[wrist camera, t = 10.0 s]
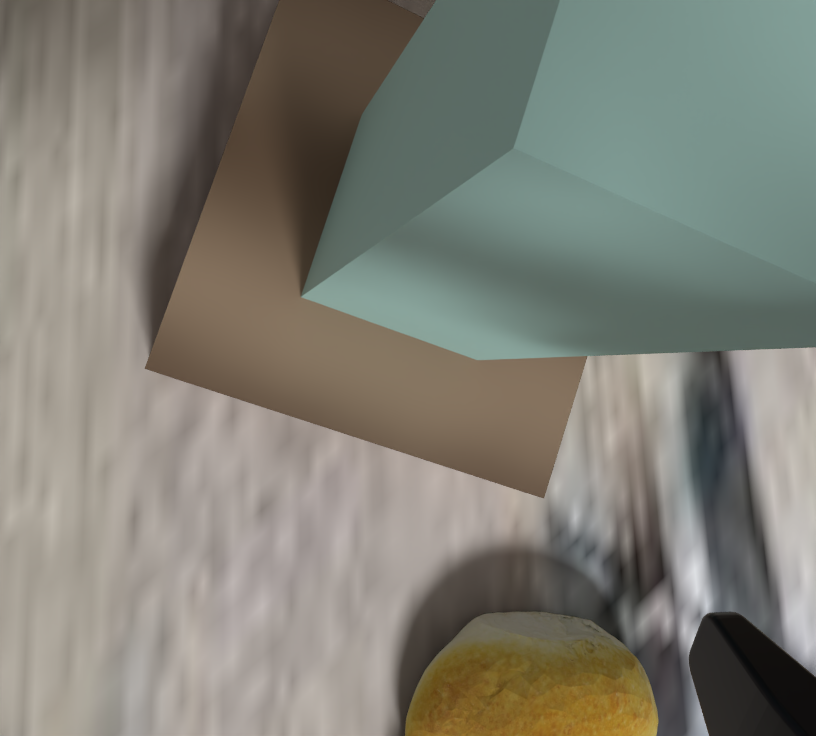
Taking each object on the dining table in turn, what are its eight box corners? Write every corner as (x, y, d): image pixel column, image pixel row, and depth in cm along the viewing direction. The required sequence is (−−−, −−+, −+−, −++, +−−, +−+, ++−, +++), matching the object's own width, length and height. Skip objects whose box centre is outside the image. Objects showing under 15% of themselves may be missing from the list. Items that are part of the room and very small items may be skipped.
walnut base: (500, 483, 23) (543, 498, 21) (151, 369, 21) (144, 368, 18) (601, 161, 24) (655, 133, 22) (282, 10, 22) (295, -45, 19)
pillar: (477, 360, 20) (947, 341, 8) (300, 296, 19) (513, 147, 6) (530, 187, 20) (1057, -99, 8) (361, 114, 19) (674, -368, 7)
